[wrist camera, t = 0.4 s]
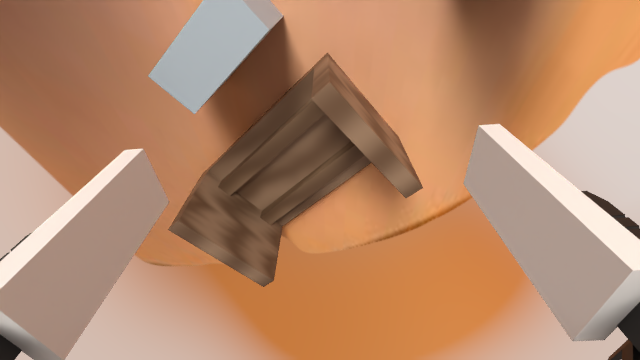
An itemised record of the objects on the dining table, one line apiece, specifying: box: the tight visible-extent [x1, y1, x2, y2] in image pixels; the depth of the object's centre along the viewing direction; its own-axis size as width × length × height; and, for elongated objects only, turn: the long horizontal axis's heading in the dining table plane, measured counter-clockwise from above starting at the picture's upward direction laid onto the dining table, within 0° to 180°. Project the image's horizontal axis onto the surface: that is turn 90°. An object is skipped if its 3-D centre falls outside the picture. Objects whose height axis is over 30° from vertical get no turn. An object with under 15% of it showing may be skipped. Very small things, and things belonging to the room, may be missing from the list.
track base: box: [168, 53, 423, 287], centre depth 35 cm, size 14×24×11 cm, turn 133°
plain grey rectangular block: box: [148, 0, 283, 114], centre depth 27 cm, size 4×10×10 cm, turn 133°
